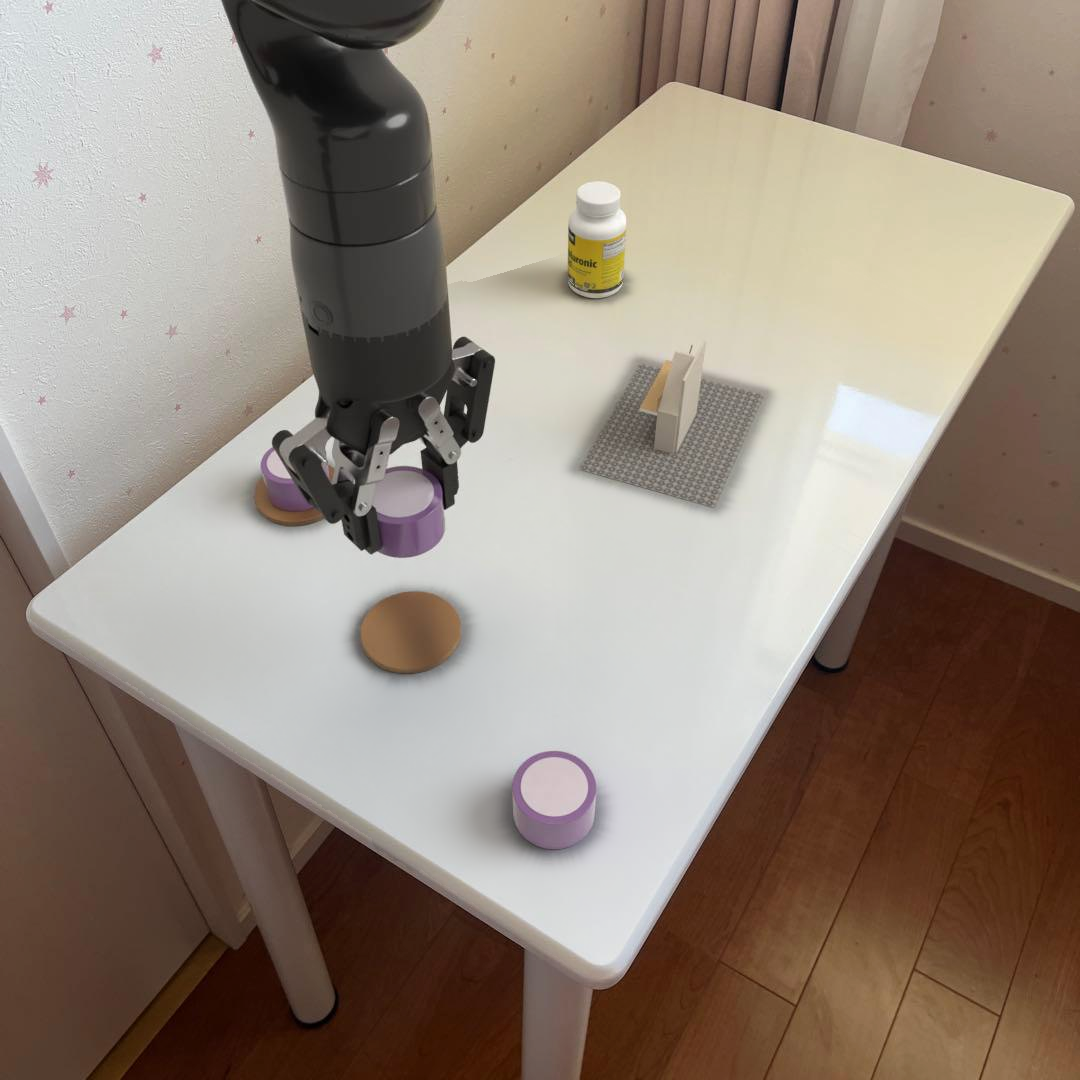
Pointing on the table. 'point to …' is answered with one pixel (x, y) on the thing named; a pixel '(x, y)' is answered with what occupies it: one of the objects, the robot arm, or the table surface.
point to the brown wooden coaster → (410, 632)
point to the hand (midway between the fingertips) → (403, 521)
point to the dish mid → (409, 511)
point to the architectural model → (675, 431)
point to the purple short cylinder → (282, 484)
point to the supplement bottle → (596, 241)
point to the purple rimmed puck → (554, 799)
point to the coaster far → (282, 515)
